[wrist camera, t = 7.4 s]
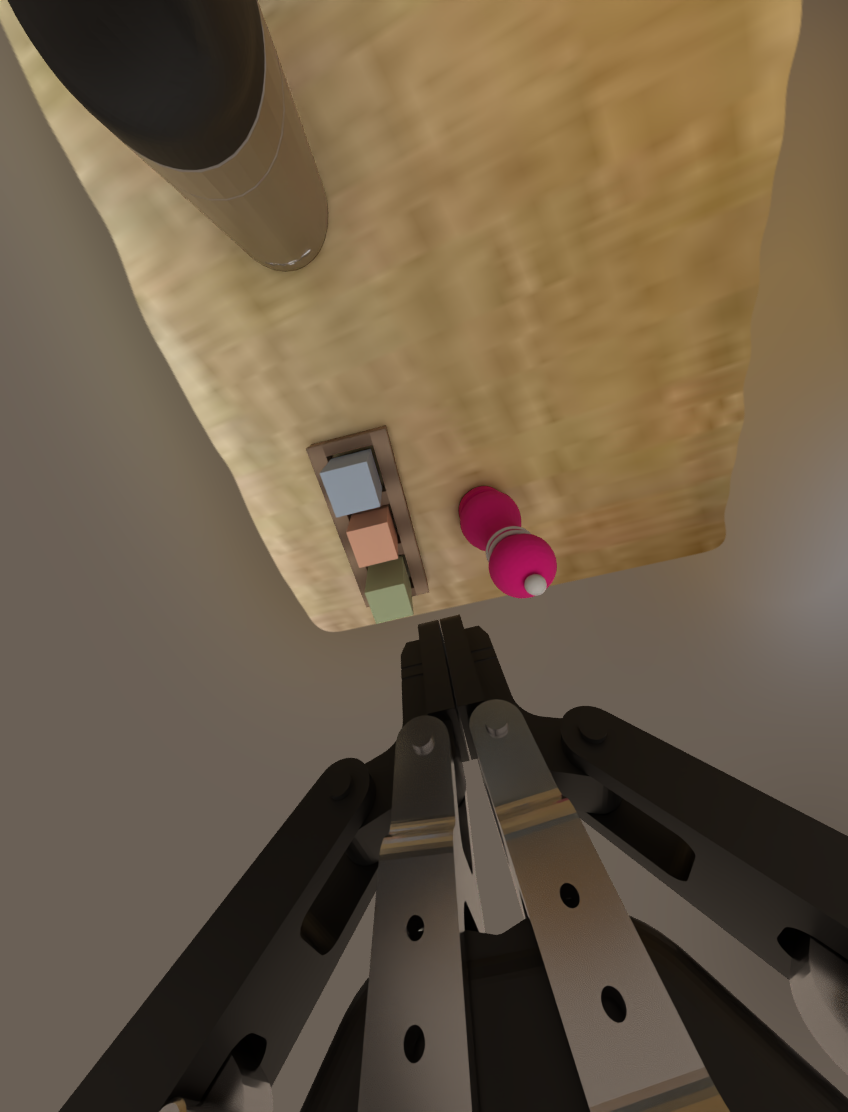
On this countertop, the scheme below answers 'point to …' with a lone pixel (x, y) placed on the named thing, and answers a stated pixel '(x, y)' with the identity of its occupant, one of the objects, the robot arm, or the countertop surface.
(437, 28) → the countertop surface
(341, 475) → the slate block
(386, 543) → the terracotta block
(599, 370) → the countertop surface
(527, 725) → the robot arm
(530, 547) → the pepper mill
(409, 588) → the olive block
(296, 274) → the countertop surface
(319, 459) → the walnut board
